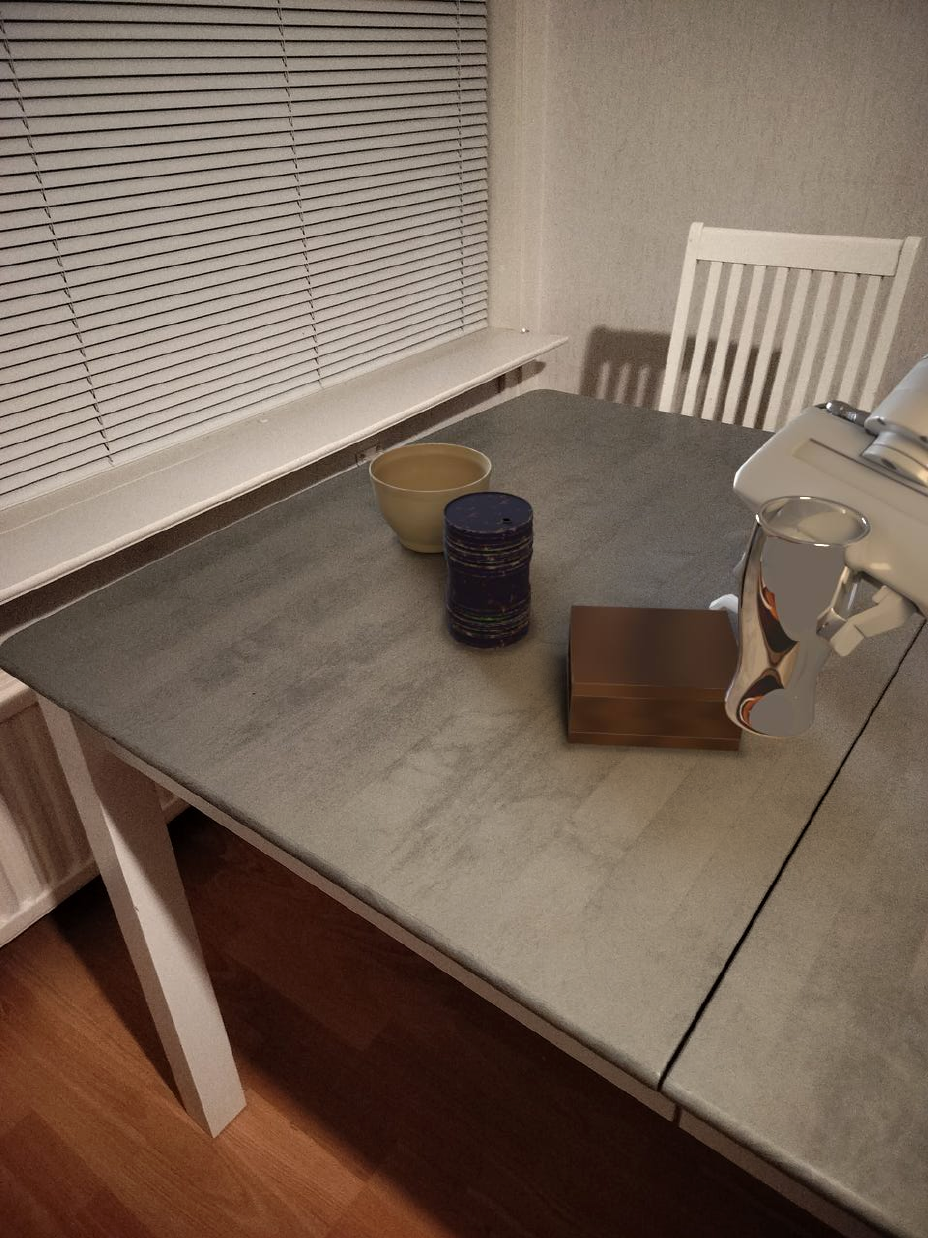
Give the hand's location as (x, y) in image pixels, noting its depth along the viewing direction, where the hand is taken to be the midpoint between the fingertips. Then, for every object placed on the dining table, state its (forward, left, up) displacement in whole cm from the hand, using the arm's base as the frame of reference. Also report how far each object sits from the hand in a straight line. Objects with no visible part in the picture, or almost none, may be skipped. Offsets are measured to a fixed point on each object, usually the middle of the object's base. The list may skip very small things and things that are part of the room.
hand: (783, 613), depth 53 cm
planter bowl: (+30, -55, -25) cm, 67 cm away
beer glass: (-1, 0, -8) cm, 9 cm away
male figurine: (-11, -36, -25) cm, 46 cm away
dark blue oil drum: (+21, -34, -25) cm, 47 cm away
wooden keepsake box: (+4, -21, -25) cm, 33 cm away
